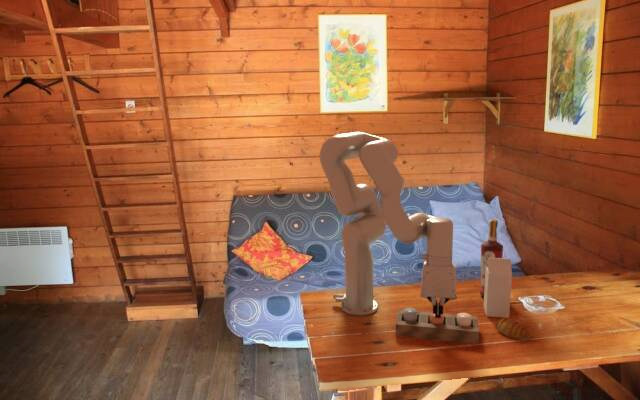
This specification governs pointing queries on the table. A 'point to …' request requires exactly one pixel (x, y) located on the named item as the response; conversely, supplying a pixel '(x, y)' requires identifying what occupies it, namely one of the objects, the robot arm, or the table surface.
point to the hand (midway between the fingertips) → (437, 315)
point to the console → (437, 328)
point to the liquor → (489, 251)
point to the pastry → (513, 329)
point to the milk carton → (497, 287)
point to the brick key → (436, 319)
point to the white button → (464, 319)
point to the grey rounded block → (410, 315)
